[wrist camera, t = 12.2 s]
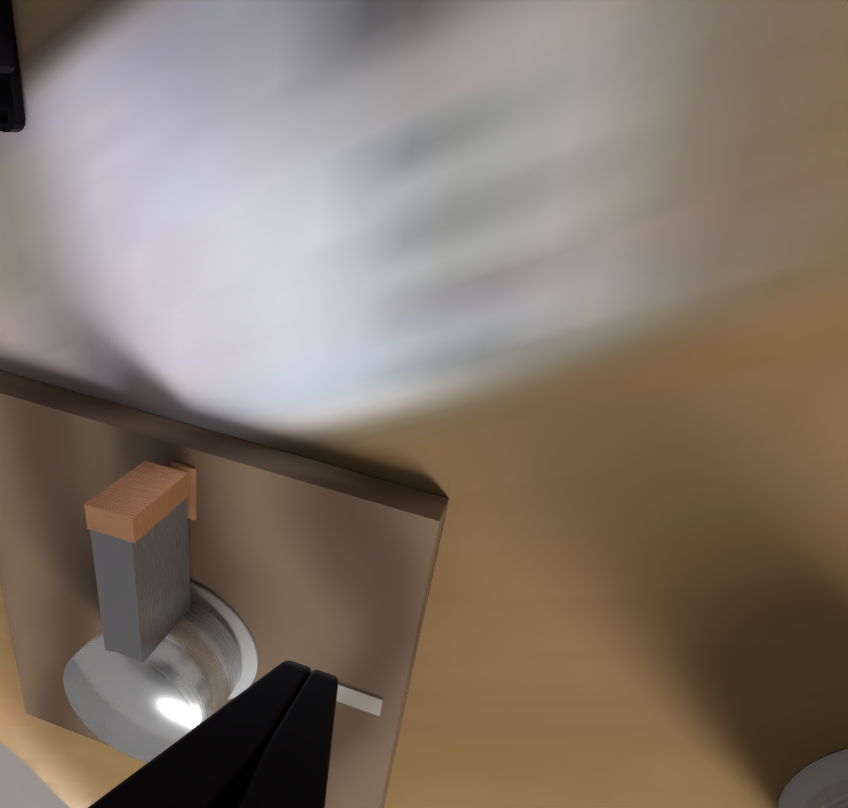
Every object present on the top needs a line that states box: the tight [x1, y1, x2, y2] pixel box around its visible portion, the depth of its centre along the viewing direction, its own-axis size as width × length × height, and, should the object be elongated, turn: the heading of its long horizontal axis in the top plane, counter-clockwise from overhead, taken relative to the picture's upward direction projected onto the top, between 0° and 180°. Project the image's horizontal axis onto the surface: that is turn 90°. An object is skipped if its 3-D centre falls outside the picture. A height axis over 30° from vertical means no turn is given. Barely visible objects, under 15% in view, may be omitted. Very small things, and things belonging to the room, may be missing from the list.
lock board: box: [0, 371, 449, 808], centre depth 28 cm, size 20×20×2 cm
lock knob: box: [63, 461, 242, 762], centre depth 24 cm, size 12×6×3 cm, turn 172°
